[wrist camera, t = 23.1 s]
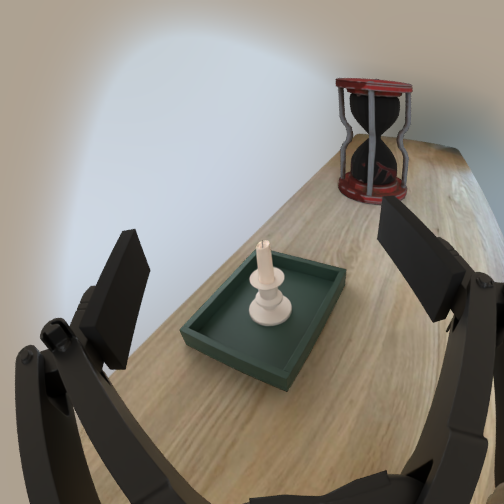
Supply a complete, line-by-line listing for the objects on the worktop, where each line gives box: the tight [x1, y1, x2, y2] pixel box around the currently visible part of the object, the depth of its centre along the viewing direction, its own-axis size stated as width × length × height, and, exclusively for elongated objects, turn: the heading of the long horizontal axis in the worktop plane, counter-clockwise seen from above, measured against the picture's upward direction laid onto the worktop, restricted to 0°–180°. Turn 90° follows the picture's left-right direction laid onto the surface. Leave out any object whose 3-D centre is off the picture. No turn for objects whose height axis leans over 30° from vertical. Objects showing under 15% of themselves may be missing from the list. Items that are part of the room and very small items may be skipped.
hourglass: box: [336, 78, 412, 205], centre depth 55 cm, size 16×16×25 cm
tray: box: [180, 249, 346, 392], centre depth 35 cm, size 18×14×3 cm
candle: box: [249, 240, 292, 326], centre depth 33 cm, size 5×5×10 cm
